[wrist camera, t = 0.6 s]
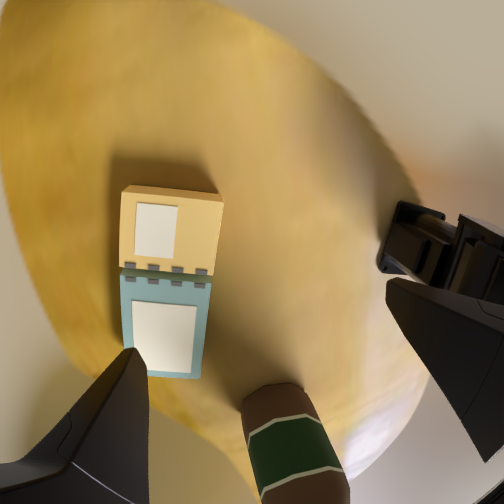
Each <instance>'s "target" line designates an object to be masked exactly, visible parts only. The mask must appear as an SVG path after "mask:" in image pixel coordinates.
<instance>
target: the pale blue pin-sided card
mask: <svg viewBox="0 0 504 504" xmlns="http://www.w3.org/2000/svg"><path fill="white" fill-rule="evenodd" d="M211 285H212V283H211V276H210V275H198V274H188V273H175V272H166V271H154V270H146V269H134V268H125V267H123V269H122V271H121V274H120V296H121V315H122V329H123V341H124V349H125V348H131V347H135V348H137V350H138V351H139V353H140V355H141V357H142V358H143V360H144V362H145V364H146V366H147V376H157V377H170V378H187V379H200V374H201V365H202V356H203V348H204V339H205V331H206V323H207V315H208V307H209V300H210V292H211Z"/></svg>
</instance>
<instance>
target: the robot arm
mask: <svg viewBox="0 0 504 504" xmlns="http://www.w3.org/2000/svg"><path fill="white" fill-rule="evenodd" d="M403 205H404V206H403ZM402 206H403V208H402ZM458 221H459V222H458V226H457V227H455V226H453V225H451V224H449V223H447V222H445V214H444V213H441V212H438V211H435V210H432V209H429V208H426V207H423V206H419V205H416V204H413V203H409V202H406V201H400V202H399V203H398V205H397V208H396V212H395V215H394V219H393V222H392V226H391V229H390V232H389V236H388V239H387V242H386V245H385V248H384V251H383V254H382V257H381V260H380V263H379V267H378V269H379V271H380V272H382V273H387V274H400V275H409V276H410V277H411V278H412V279H414V280H415V281H416V282H413V281H410V280H406V279H402V278H399V277H396V278H393V279H390V280H388V281H387V283H386V298H385V299H386V304H387V306H388V308H389V310H390V311H391V313H392V315H393V317H394V318H395V320H396V322H397V324H398V325H399V327H400V329H401V331H402V332H403V334H404V336H405V337H406V339H407V340H408V342H409V343H410V344H411V346H412V347H413V349H414V350H415V352H416V353H417V354H418V356H419V357H420V359H421V360H422V362H423V363H424V365H425V366H426V368H427V369H428V370H429V372H430V373H431V375H432V376H433V378H434V379H435V381H436V382H437V384H438V386H439V387H440V389H441V390H442V391H443V393H444V395H445V396H446V398H447V400H448V401H449V403H450V404H451V406H452V407H453V409H454V411H455V412H456V414H457V416H458V417H459V419H460V420H461V423H462V424H463V426H464V428H465V429H466V431H467V433H468V434H469V436H470V438H471V440H472V441H473V443H474V445H475V446H476V448H477V450H478V452H479V454H480V456H481V457H482V459H483V461H484V462H485V463H487V462H488V461H489V460H491V459H492V458H493V457H494V456H495V455H496V454H497V453H499V452H500V451H501V450H502V449H503V448H504V229H503V228H500V227H498V226H496V225H494V224H491V223H489V222H487V221H484V220H480V219H477V218H473V217H470V216H466V215H463V214H459V218H458ZM384 266H385V267H384ZM383 267H384V268H383ZM417 282H418V283H417ZM148 427H149V394H148V377H147V366H146V364H145V362H144V360H143V358H142V357H141V355H140V353H139V351H138V350H137V348H135V347H131V348H125V349H124V350H123V351H122V352H121V353H120V354H119V355H118V356H117V357H116V358H115V360H114V361H113V362H112V363H111V364H110V365H109V366H108V367H107V368H106V369H105V371H104V372H103V373H102V374H101V375H100V376H99V377H98V378H97V379H96V381H95V382H94V383H93V384H92V385H91V386H90V387H89V389H88V390H87V391H86V392H85V393H84V394H83V395H82V396H81V398H80V399H79V400H78V401H77V402H76V403H75V404H74V405H73V407H72V408H71V409H70V410H69V412H67V413H66V415H65V416H64V417H63V418H62V419H61V420H60V421H59V423H57V425H56V426H55V427H54V428H53V429H52V430H51V431H50V432H49V433H48V434H47V435H46V436H45V437H44V438H43V439H42V440H41V441H40V442H39V443H38V444H37V445H36V446H35V447H34V448H33V449H32V450H31V451H30V452H29V453H28V454H27V455H25V456H24V457H23V458H21V459H20V460H18V461H15V462H11V463H3V464H0V504H149V486H148V485H149V484H148V483H149V482H148V429H149V428H148ZM473 504H504V478H503V479H502V480H501V481H500V482H499V483H498V484H496V485H495V486H494V487H493V488H492V489H491V490H490V491H488V492H487V493H486V494H485V495H483V496H482V497H481V498H480V499H478V500H477V501H476V502H475V503H473Z"/></svg>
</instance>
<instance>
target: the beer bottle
mask: <svg viewBox="0 0 504 504" xmlns="http://www.w3.org/2000/svg"><path fill="white" fill-rule="evenodd" d="M241 419H242V426H243V431H244V436H245V440H246V444H247V448H248V452H249V456H250V460H251V464H252V468H253V472H254V476H255V480H256V484H257V488H258V492H259V495H260V499H261V502H262V504H350V487H349V484H348V481H347V479H346V476H345V473H344V471H343V468H342V466H341V464H340V462H339V460H338V458H337V456H336V453H335V451H334V449H333V447H332V445H331V443H330V440H329V438H328V436H327V434H326V432H325V430H324V428H323V425H322V423H321V421H320V419H319V417H318V414H317V412H316V410H315V408H314V406H313V404H312V402H311V400H310V398H309V397H308V395H307V393H305V392H304V391H302V390H301V389H299V388H298V387H296V386H295V385H293V384H292V383H283V384H275V385H266V386H263V387H261V388H260V389H259V390H257V391H256V392H254V393H252V394H251V395H249V396H248V397H246V398H245V399H244V400H243V404H242V414H241Z"/></svg>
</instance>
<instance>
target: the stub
mask: <svg viewBox="0 0 504 504" xmlns="http://www.w3.org/2000/svg"><path fill="white" fill-rule="evenodd" d="M223 207H224V201H223V199H222V197H221V195H220V194H214V193H206V192H197V191H189V190H179V189H170V188H160V187H149V186H138V185H129V186H128V187H127V188H126V189H125V190H123V191H122V195H121V211H120V236H119V267H125V268H134V269H146V270H154V271H166V272H175V273H188V274H198V275H211V276H213V273H214V266H215V259H216V252H217V245H218V239H219V232H220V226H221V220H222V213H223Z"/></svg>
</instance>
